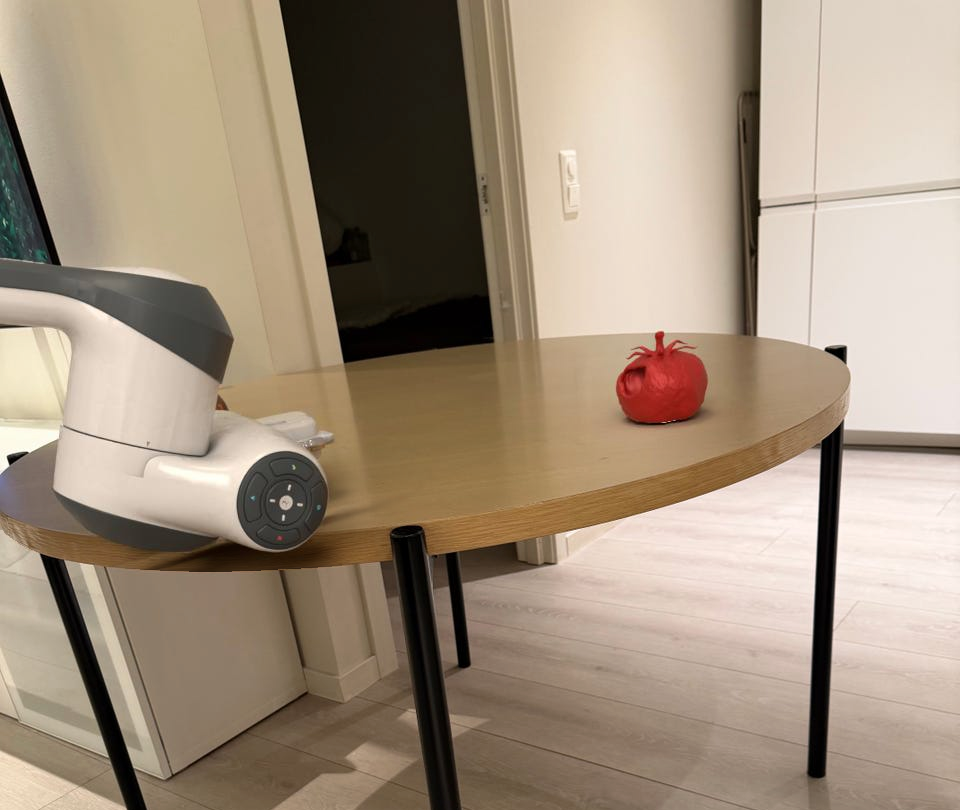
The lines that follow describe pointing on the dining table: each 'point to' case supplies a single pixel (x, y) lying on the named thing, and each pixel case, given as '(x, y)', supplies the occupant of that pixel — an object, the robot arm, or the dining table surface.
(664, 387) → the red tomato
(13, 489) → the dining table surface
